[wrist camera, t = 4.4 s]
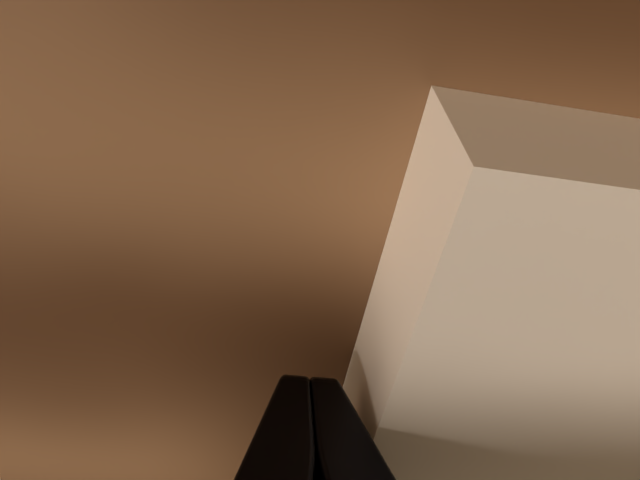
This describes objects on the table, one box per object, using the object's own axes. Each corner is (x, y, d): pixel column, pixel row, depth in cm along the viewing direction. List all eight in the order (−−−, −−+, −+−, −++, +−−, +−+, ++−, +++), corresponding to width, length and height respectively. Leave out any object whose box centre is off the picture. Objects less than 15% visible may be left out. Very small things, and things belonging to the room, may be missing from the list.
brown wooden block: (439, 471, 19) (470, 610, 15) (76, 446, 17) (26, 593, 14) (806, -263, 8) (1131, -314, 5) (-13, -482, 7) (-278, -741, 4)
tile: (578, 518, 13) (620, 619, 11) (308, 503, 12) (311, 609, 11) (866, 154, 8) (1016, 242, 6) (431, 85, 7) (473, 166, 5)
